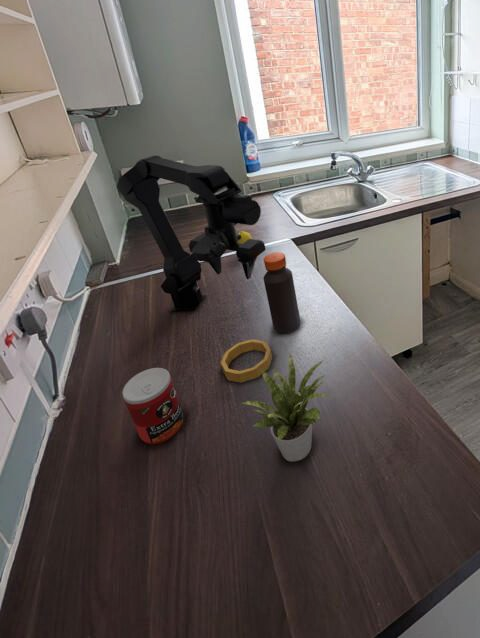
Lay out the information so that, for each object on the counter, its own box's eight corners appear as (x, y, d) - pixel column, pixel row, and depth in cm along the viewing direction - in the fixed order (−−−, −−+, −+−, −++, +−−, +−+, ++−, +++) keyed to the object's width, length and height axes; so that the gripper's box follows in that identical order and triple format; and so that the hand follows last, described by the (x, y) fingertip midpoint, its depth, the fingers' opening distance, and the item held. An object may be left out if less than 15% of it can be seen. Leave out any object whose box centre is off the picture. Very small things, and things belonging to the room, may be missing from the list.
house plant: (354, 418, 76) (346, 350, 70) (328, 493, 63) (315, 419, 57) (285, 407, 79) (271, 341, 73) (247, 476, 67) (227, 404, 60)
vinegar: (268, 327, 102) (253, 258, 94) (290, 314, 107) (278, 247, 99) (283, 338, 98) (269, 267, 90) (306, 324, 102) (294, 255, 95)
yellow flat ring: (217, 384, 86) (214, 375, 85) (233, 349, 95) (230, 340, 94) (264, 381, 86) (262, 372, 85) (275, 346, 95) (274, 337, 94)
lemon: (234, 254, 139) (229, 234, 136) (245, 247, 144) (241, 227, 140) (247, 257, 137) (242, 236, 134) (257, 249, 141) (253, 229, 138)
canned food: (155, 453, 72) (136, 408, 67) (131, 433, 76) (112, 389, 71) (193, 420, 78) (179, 377, 73) (169, 403, 82) (154, 361, 77)
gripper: (163, 230, 91) (180, 288, 97) (228, 239, 85) (243, 300, 91) (199, 211, 101) (213, 265, 107) (261, 217, 95) (272, 274, 101)
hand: (233, 276), depth 101 cm, fingers open, 9 cm apart
